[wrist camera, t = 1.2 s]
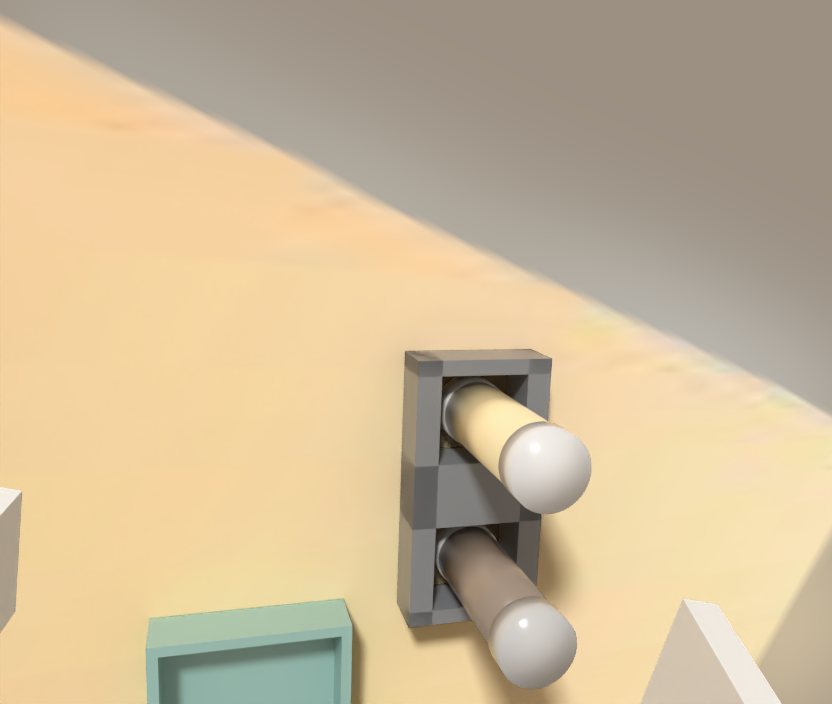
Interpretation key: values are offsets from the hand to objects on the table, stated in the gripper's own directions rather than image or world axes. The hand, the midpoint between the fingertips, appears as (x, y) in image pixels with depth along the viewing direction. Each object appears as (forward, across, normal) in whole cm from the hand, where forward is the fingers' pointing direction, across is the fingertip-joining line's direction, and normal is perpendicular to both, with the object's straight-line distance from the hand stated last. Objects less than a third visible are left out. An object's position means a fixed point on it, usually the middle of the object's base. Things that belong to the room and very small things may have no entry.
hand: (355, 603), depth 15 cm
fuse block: (+29, -8, +12) cm, 32 cm away
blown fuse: (+28, -9, +16) cm, 34 cm away
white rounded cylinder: (+29, -7, +8) cm, 31 cm away
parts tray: (+24, +2, +26) cm, 36 cm away
